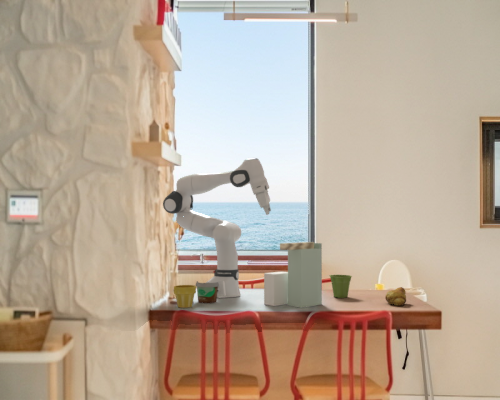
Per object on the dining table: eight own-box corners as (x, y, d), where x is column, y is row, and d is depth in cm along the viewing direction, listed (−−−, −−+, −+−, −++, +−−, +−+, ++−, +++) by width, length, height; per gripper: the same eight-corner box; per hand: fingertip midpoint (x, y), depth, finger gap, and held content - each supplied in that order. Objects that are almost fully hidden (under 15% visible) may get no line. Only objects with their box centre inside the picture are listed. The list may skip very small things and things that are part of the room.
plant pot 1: (175, 304, 248) (175, 284, 248) (197, 305, 247) (197, 284, 248) (171, 308, 237) (171, 287, 238) (194, 308, 237) (194, 287, 237)
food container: (191, 302, 253) (191, 282, 254) (196, 300, 259) (196, 281, 259) (213, 304, 249) (214, 283, 249) (219, 302, 255) (219, 282, 255)
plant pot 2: (356, 298, 268) (356, 276, 268) (336, 299, 264) (336, 277, 264) (344, 294, 279) (344, 274, 279) (325, 296, 275) (325, 274, 275)
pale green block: (301, 307, 240) (301, 244, 240) (288, 305, 246) (287, 243, 247) (321, 304, 249) (321, 243, 249) (308, 302, 255) (308, 242, 256)
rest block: (274, 306, 244) (273, 274, 244) (264, 304, 249) (264, 273, 250) (292, 303, 252) (291, 272, 252) (282, 301, 257) (282, 271, 258)
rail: (284, 250, 238) (284, 243, 238) (280, 249, 240) (280, 243, 240) (314, 248, 250) (314, 242, 250) (309, 248, 253) (309, 241, 253)
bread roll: (408, 307, 242) (407, 290, 242) (386, 306, 244) (386, 289, 244) (405, 302, 254) (404, 286, 255) (384, 302, 256) (384, 285, 256)
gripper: (256, 187, 277) (264, 211, 279) (252, 192, 257) (261, 217, 259) (267, 183, 276) (275, 207, 278) (264, 188, 256) (273, 214, 258)
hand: (268, 212), depth 268 cm, fingers open, 8 cm apart
